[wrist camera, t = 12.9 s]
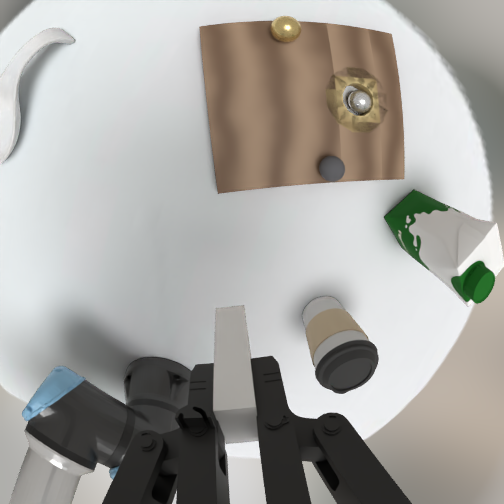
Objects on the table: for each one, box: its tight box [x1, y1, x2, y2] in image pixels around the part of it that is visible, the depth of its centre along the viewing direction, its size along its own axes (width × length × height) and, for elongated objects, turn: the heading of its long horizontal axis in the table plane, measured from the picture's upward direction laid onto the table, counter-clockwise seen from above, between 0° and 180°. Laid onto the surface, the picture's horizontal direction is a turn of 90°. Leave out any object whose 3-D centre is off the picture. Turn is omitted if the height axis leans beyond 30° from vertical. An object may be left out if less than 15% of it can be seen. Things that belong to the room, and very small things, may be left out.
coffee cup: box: [302, 296, 379, 394], centre depth 39 cm, size 9×9×15 cm
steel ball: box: [348, 90, 372, 113], centre depth 31 cm, size 3×3×3 cm
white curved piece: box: [0, 28, 75, 164], centre depth 24 cm, size 24×12×7 cm, turn 135°
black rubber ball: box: [319, 156, 345, 182], centre depth 32 cm, size 3×3×3 cm
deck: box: [200, 21, 404, 194], centre depth 31 cm, size 26×22×2 cm
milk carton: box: [384, 190, 504, 307], centre depth 31 cm, size 9×9×20 cm
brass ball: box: [270, 16, 301, 42], centre depth 25 cm, size 4×4×4 cm
